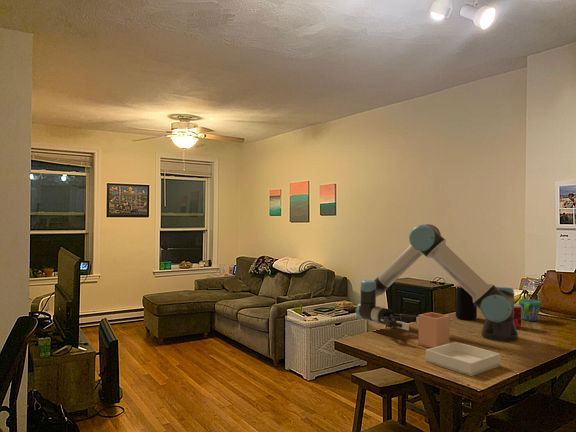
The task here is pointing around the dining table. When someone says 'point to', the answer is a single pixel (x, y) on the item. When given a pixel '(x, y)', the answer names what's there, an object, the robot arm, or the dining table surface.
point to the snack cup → (529, 309)
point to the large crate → (462, 358)
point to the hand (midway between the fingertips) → (418, 324)
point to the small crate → (433, 330)
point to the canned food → (517, 316)
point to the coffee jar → (465, 305)
